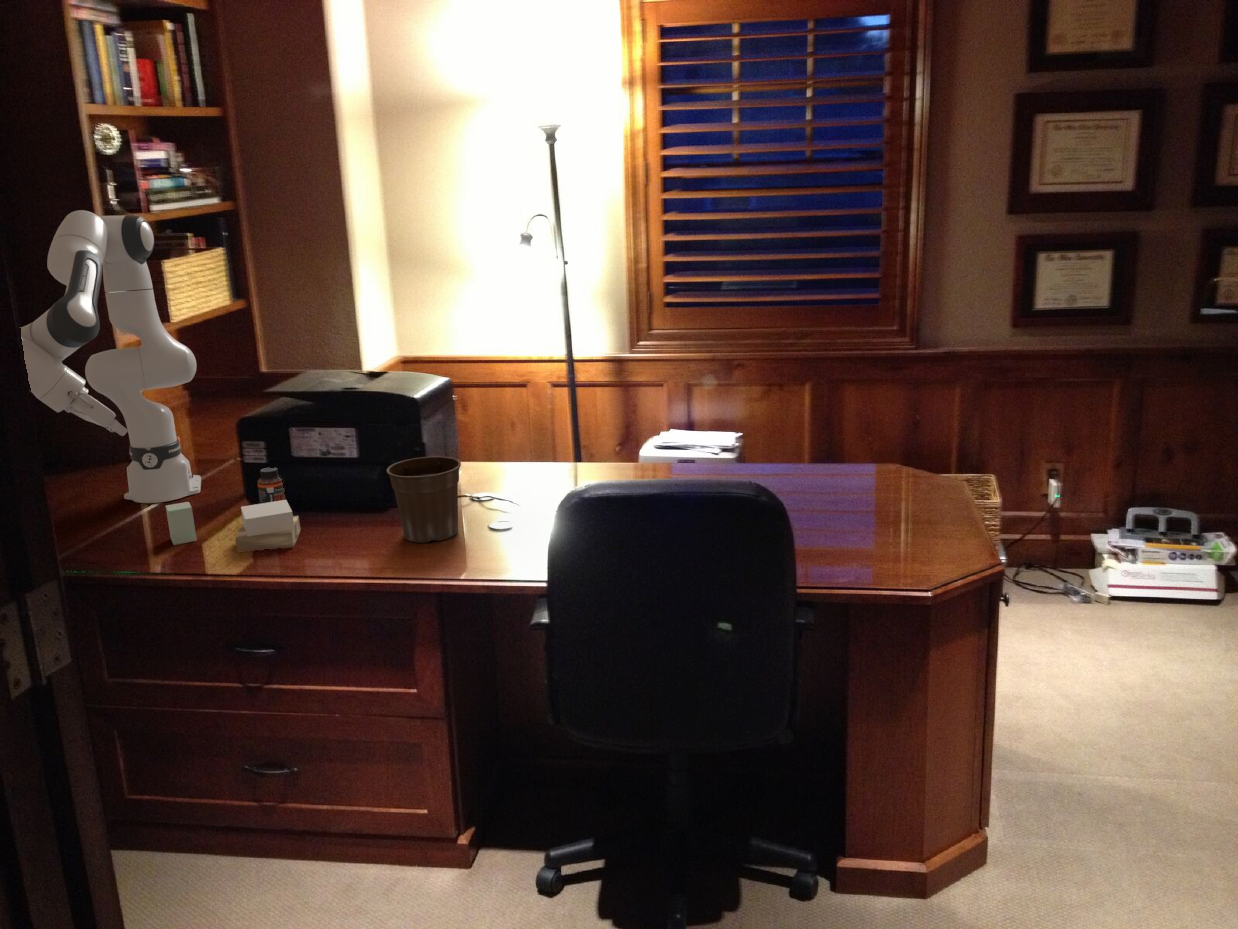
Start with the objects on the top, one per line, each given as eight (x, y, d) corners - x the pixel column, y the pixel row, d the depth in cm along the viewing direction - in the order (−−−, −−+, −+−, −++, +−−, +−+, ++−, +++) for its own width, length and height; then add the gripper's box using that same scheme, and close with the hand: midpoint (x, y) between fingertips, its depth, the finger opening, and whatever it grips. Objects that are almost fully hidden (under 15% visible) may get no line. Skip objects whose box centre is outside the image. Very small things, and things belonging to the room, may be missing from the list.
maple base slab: (247, 536, 255) (245, 520, 254) (300, 532, 256) (298, 515, 255) (237, 554, 244) (235, 537, 242) (293, 549, 245) (291, 532, 244)
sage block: (170, 538, 254) (165, 505, 252) (193, 534, 256) (188, 501, 254) (173, 545, 250) (168, 511, 248) (196, 540, 252) (191, 507, 250)
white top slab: (243, 523, 251) (240, 506, 250) (288, 516, 255) (286, 499, 254) (247, 536, 243) (245, 519, 241) (294, 528, 246) (292, 511, 245)
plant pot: (379, 543, 245) (371, 473, 241) (417, 520, 260) (411, 453, 255) (443, 550, 239) (437, 478, 235) (479, 526, 254) (473, 458, 249)
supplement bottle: (279, 518, 265) (273, 473, 262) (257, 517, 266) (250, 472, 263) (291, 510, 271) (285, 466, 268) (269, 509, 272) (263, 465, 269)
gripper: (84, 382, 226) (141, 423, 234) (65, 377, 243) (119, 416, 250) (63, 406, 225) (121, 447, 232) (46, 400, 241) (100, 438, 248)
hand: (120, 431), depth 241 cm, fingers open, 8 cm apart
